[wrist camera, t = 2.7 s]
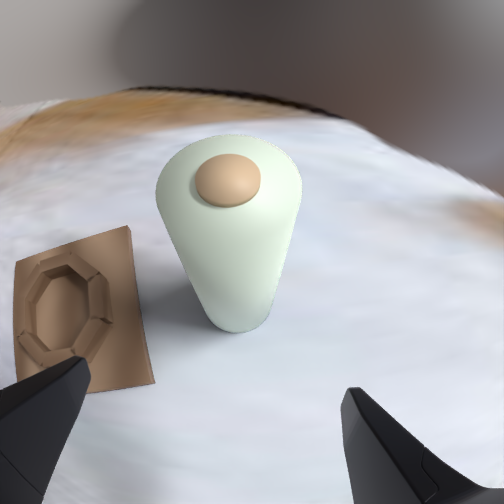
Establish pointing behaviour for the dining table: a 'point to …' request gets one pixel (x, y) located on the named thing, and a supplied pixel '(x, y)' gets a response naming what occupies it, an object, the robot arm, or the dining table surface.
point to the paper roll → (231, 223)
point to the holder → (82, 311)
